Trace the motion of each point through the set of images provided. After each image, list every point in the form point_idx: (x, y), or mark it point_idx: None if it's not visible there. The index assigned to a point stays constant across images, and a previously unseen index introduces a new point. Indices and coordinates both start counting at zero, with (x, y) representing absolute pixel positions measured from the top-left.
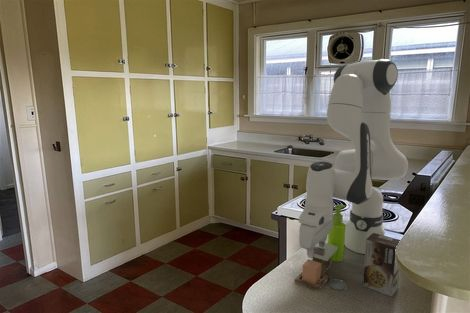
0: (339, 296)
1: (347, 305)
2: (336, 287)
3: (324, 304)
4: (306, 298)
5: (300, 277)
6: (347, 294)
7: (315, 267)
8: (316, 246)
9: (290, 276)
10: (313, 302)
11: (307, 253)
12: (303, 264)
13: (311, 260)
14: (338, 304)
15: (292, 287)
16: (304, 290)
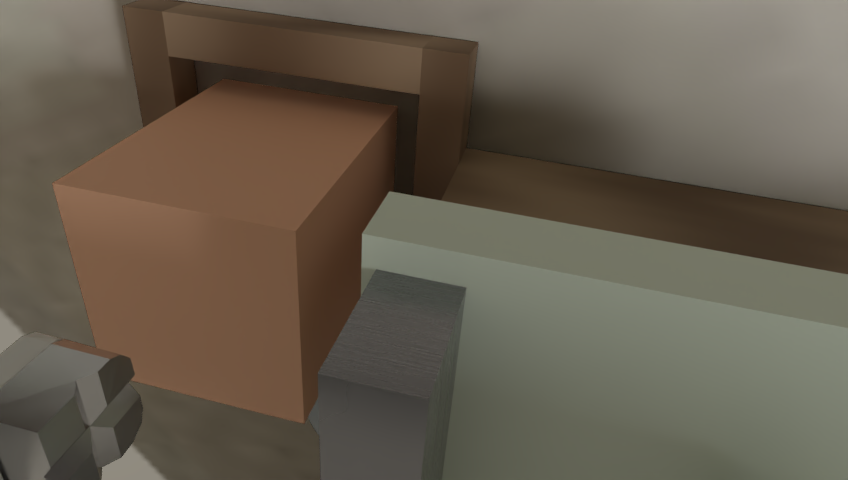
0: (239, 421)
1: (176, 462)
2: (317, 413)
3: (66, 335)
4: (15, 199)
5: (220, 62)
6: (305, 468)
7: None
8: (811, 392)
9: None
10: (20, 260)
11: (378, 222)
12: (71, 193)
13: (288, 286)
14: (142, 415)
15: (46, 13)
16: (100, 152)
